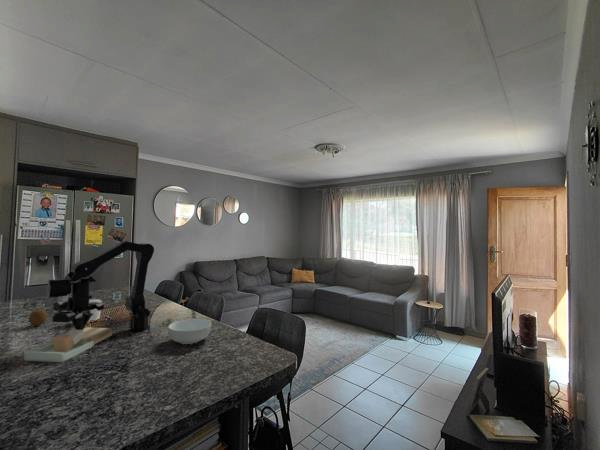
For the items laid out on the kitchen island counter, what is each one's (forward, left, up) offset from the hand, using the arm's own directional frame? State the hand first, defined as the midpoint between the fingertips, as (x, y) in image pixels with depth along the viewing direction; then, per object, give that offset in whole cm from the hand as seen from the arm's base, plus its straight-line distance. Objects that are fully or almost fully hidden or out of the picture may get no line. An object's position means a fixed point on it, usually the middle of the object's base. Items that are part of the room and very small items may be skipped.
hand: (79, 333), depth 116 cm
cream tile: (0, +3, -2) cm, 3 cm away
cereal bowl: (-42, -8, -5) cm, 43 cm away
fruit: (+36, -18, -5) cm, 40 cm away
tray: (0, +8, -4) cm, 9 cm away
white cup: (+17, -27, -5) cm, 32 cm away
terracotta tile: (0, +6, -1) cm, 6 cm away
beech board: (0, -4, -4) cm, 6 cm away
